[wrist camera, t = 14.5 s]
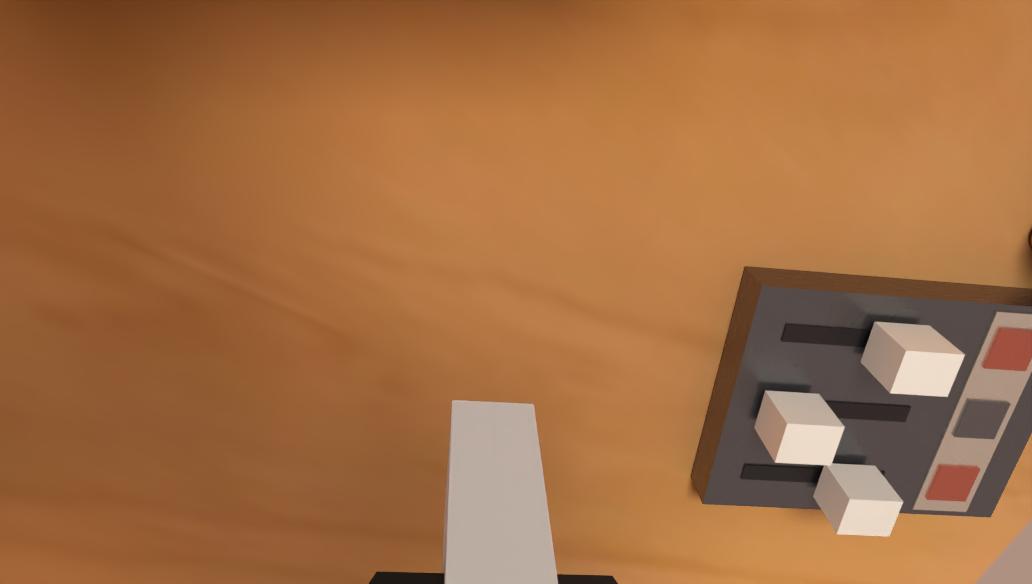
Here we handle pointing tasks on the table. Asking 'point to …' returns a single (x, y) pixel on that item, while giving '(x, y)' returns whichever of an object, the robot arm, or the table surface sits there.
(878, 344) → the switch
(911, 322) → the switch panel
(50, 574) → the table surface
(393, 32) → the table surface
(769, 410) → the switch
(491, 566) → the robot arm
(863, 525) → the switch
